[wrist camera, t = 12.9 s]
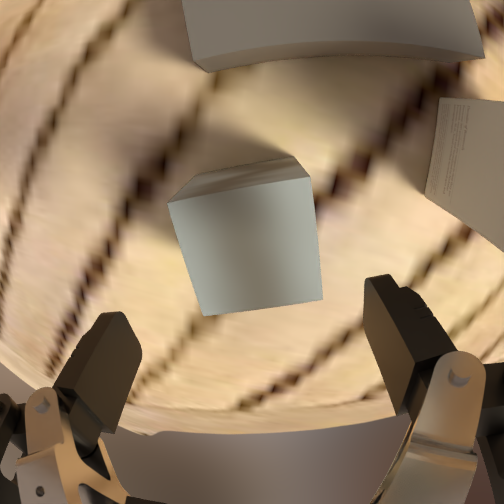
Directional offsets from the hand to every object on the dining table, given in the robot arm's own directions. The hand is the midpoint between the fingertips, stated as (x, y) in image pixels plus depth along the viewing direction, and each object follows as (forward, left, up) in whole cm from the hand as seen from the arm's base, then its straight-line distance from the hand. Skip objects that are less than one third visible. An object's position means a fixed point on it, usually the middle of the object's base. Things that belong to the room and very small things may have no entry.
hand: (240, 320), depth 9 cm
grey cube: (0, 0, -10) cm, 10 cm away
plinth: (-7, -17, -10) cm, 21 cm away
